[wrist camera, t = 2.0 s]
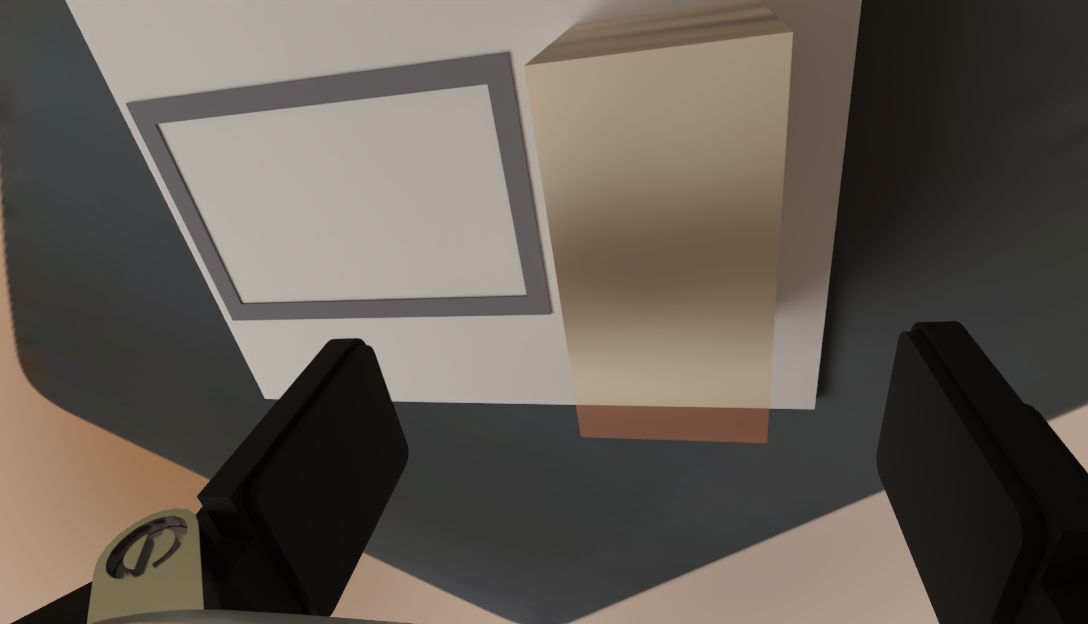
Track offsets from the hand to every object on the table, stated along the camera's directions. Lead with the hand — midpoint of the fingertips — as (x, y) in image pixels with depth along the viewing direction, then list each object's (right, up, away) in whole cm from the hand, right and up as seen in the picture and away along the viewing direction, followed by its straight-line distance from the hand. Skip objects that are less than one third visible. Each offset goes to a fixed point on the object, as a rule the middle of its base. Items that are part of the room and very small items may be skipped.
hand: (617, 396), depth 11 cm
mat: (-4, +6, +10) cm, 12 cm away
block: (+3, +5, +8) cm, 10 cm away
